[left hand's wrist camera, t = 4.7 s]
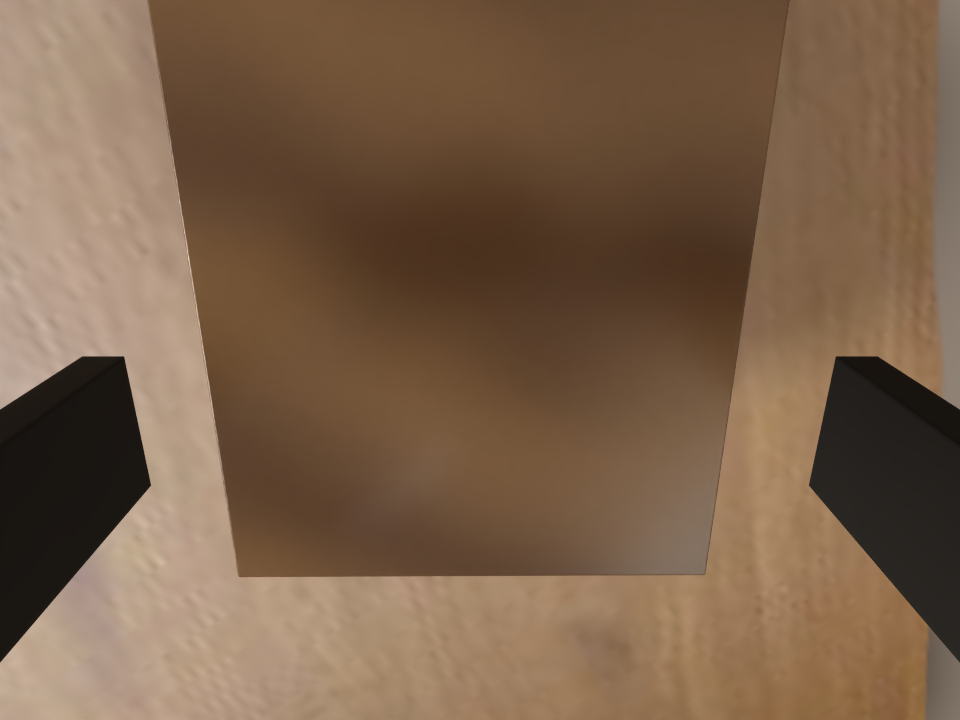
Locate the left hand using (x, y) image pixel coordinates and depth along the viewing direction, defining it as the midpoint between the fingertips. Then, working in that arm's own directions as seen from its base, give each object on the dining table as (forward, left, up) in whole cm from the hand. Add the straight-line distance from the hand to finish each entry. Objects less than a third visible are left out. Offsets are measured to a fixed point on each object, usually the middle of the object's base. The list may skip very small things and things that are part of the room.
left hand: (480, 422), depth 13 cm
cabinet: (+4, 0, -12) cm, 13 cm away
